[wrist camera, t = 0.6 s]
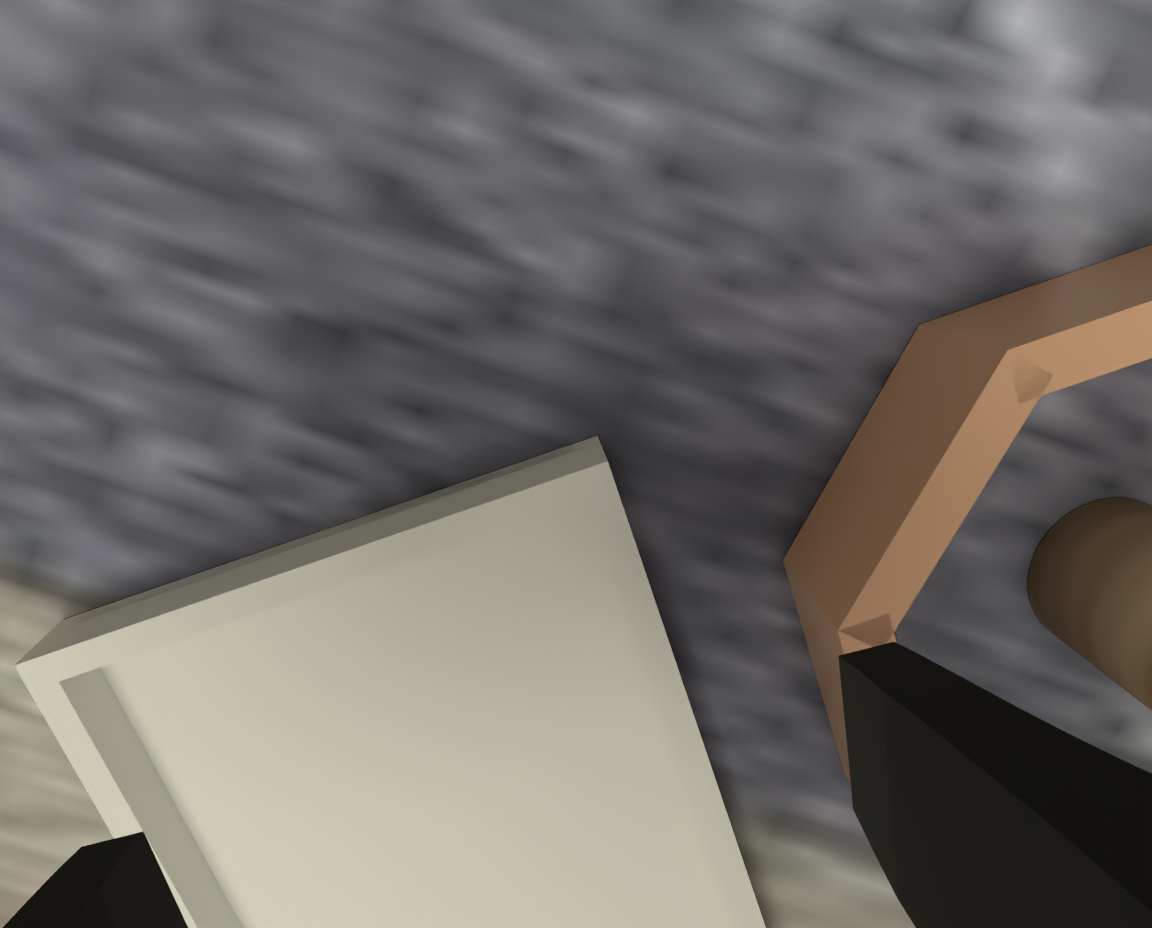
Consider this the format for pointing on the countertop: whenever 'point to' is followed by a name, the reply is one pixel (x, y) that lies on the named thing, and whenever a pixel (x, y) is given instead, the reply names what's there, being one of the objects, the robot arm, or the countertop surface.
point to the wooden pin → (1100, 588)
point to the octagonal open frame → (948, 448)
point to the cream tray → (409, 723)
